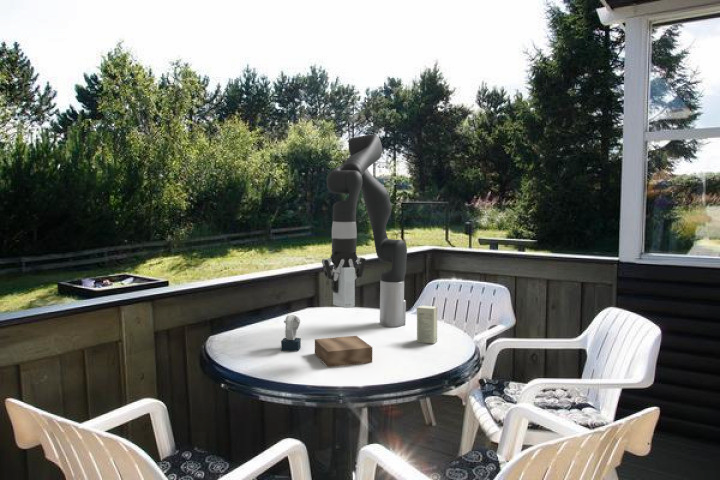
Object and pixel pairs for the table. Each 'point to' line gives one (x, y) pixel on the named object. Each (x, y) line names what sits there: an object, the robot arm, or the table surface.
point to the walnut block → (343, 351)
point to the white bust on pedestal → (291, 334)
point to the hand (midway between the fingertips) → (343, 291)
